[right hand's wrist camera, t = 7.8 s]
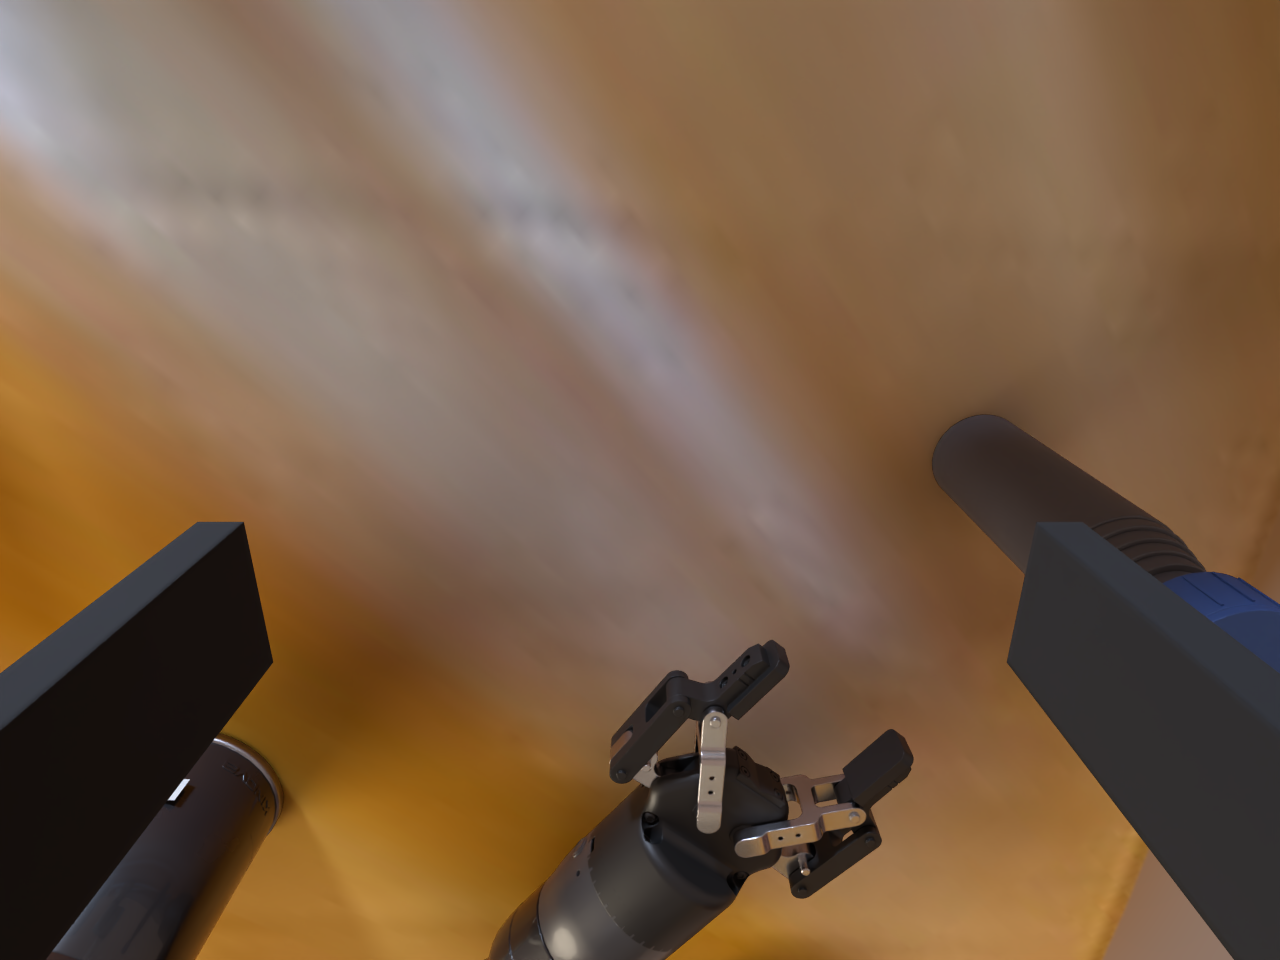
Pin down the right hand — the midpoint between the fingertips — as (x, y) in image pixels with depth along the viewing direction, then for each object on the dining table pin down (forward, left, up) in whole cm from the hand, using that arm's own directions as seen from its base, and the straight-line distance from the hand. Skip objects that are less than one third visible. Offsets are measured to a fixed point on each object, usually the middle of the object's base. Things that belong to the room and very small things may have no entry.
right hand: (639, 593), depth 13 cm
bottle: (-9, +17, -27) cm, 33 cm away
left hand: (+3, +20, -20) cm, 28 cm away
